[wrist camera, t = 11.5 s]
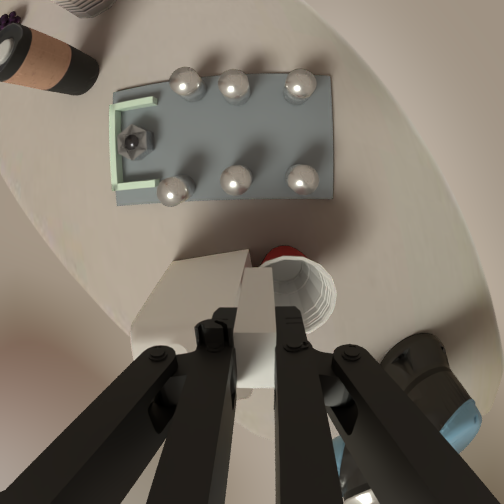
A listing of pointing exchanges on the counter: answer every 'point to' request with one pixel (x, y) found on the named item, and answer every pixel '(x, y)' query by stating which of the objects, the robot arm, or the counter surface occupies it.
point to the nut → (135, 142)
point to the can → (85, 6)
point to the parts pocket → (114, 156)
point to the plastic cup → (301, 285)
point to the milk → (189, 302)
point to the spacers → (237, 94)
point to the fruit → (4, 20)
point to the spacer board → (231, 139)
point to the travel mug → (44, 62)
